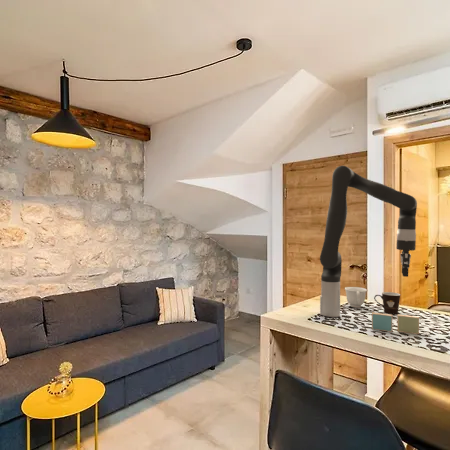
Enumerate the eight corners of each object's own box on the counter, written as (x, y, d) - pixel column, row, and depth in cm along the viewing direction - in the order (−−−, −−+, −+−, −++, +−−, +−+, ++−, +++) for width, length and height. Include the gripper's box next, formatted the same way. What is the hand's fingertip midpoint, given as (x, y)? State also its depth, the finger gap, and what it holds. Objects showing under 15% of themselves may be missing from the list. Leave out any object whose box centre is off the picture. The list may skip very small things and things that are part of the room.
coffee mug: (403, 313, 168) (403, 294, 168) (395, 316, 163) (395, 296, 163) (381, 308, 177) (381, 290, 177) (373, 310, 172) (373, 292, 172)
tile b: (397, 331, 139) (397, 315, 139) (397, 330, 141) (397, 314, 141) (419, 334, 136) (419, 317, 136) (418, 333, 137) (418, 316, 137)
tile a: (371, 329, 142) (371, 313, 142) (372, 328, 144) (372, 312, 144) (392, 332, 138) (392, 315, 138) (392, 330, 140) (392, 314, 140)
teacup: (346, 309, 174) (346, 291, 174) (342, 303, 189) (342, 286, 189) (370, 311, 172) (370, 292, 172) (364, 304, 186) (365, 287, 186)
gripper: (396, 238, 154) (395, 272, 154) (397, 239, 141) (395, 276, 142) (414, 239, 151) (413, 273, 151) (417, 240, 138) (415, 278, 138)
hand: (404, 275), depth 146 cm, fingers open, 8 cm apart
